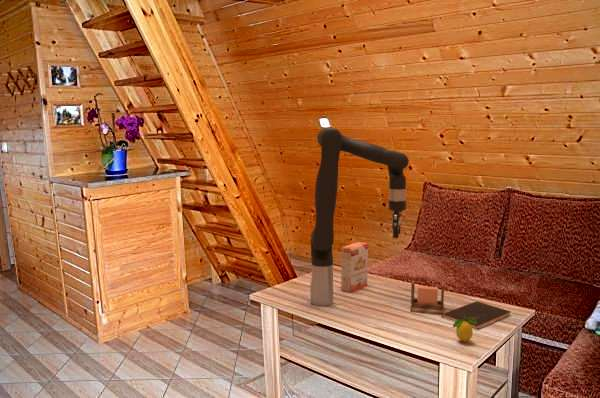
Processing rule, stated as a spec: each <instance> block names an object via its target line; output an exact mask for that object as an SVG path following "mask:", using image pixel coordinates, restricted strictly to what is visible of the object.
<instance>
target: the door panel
mask: <svg viewBox="0 0 600 398" xmlns="http://www.w3.org/2000/svg"><path fill="white" fill-rule="evenodd" d="M438 291H439V287H437V286H427V285H426V286H425V285H424V286H423V285H418V286H417V298H416V299H417V303H424V304H436V305H437V300H438V297H439V295H438V294H439V293H438Z"/></svg>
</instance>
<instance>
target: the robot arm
mask: <svg viewBox="0 0 600 398" xmlns="http://www.w3.org/2000/svg"><path fill="white" fill-rule="evenodd" d="M317 143H318V144H319V146H320V147H321V148H320V149H321V150H320V151H321V153H320V156H321V158H320V165H319V168H318V171H317V175H316V179H315V189H314V205H315V225H314V228H313V229H312V231H311V233H310V260H311V281H310V287H309V288H310V293H309V294H310V304H312V305H315V306H319V307H320V306H322V307H325V306H327V307H328V306H330V305H332V304H333V303H334V258H333V257H334V255H333V244H334V242H335V241H334V240H335V236H334V234H335V233H334V220H335V219H334V218H335V217H334V216H335V211H336V204H337V198H338V196H337V195H338V184H339V182H338V181H339V161H340V156H341V154H340V153H341V152H345V153H348V154H351V155H355V156H356V157H359V158H361V159H363V160H366V161H370V162H373V163H376V164H381V165H384V166H386V167H387V170H388V177H389V185H388V187H389V189H388V201H387V202H388V207H387V208H388V211H391V212H392V211H393V213H392V215H391V218H392V220H391V224H392V225H391V228H392V238H393V239H399V235H401V226H402V221H403V219H402V218H403V213H402V212H404V211H406V210H407V178H406V175H405V174H404V169H406V168H407V167H408V166H409V162H410V161H409V157H408V156H407V155H406V154H405V153H402V152H400V151H396V150H391V149H387V148H386V147H383V146H380V145H377V144H374V143H371V142H367V141H363V140H360V139H354V138H351V137H349V136H347V135H344V134H342V133H341V131H339V129H338V128H335V127H324V128H323V129H320V130H319V132H318V134H317Z"/></svg>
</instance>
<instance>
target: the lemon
mask: <svg viewBox="0 0 600 398" xmlns="http://www.w3.org/2000/svg"><path fill="white" fill-rule="evenodd" d="M467 319H468V321H469V322H471V323H473V324H476V323H477V321H476V319H475V318H473V317H467ZM463 320H464V321H463ZM463 320H461V319H459V320H457V321H455V322H453V325H452V328H454V329H455V331H456V332H455V333H456V337H457V338H458V339H459V340H461V342H467V341H470V340H471V339H472V336H473V328H472V327H471V325H470V324H469V323H468V322H466V321H465V315H464V319H463Z"/></svg>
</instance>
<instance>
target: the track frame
mask: <svg viewBox="0 0 600 398" xmlns="http://www.w3.org/2000/svg"><path fill="white" fill-rule="evenodd" d="M440 293H441V295H440V297H441V298H440V300H438V299H437V305H436V304H424V303H417V298H415V280H412V281H411V291H410V310H409V312H410V313H416V314H427V315H437V316H438V315H439V316H442V314H443V313H444V302H445V300H444V299H445V282H441V292H440Z"/></svg>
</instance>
